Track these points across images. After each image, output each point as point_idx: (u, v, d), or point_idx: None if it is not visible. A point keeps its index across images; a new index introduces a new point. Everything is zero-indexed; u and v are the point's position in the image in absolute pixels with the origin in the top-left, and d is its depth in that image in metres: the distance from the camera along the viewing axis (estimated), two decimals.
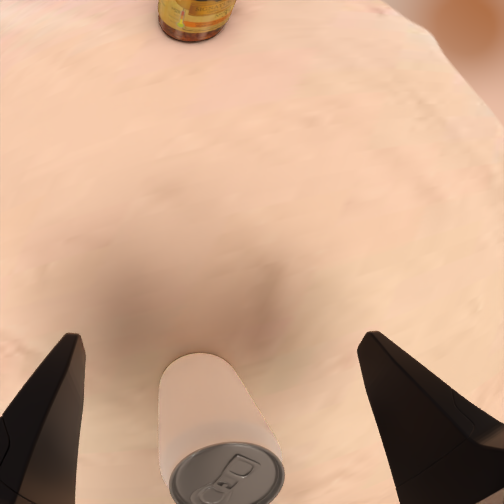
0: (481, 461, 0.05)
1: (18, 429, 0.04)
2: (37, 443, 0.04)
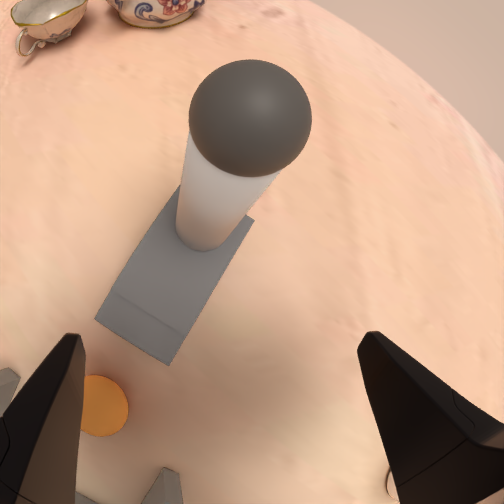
0: (481, 461, 0.05)
1: (18, 429, 0.04)
2: (37, 443, 0.04)
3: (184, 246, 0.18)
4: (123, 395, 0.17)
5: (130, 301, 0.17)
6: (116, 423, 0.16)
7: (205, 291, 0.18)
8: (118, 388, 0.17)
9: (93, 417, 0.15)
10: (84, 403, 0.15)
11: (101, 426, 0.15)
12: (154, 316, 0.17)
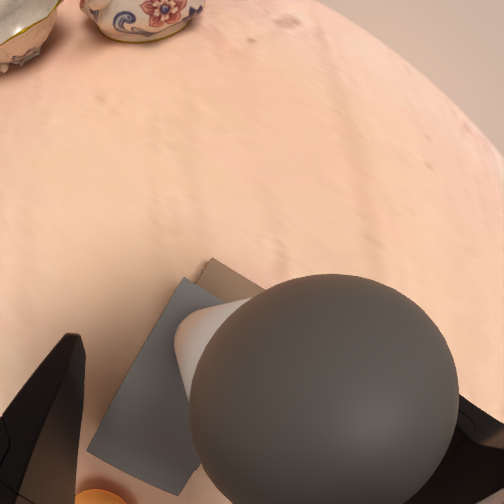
0: (481, 461, 0.05)
1: (18, 429, 0.04)
2: (37, 443, 0.04)
3: None
4: None
5: (126, 435, 0.12)
6: None
7: None
8: None
9: None
10: None
11: None
12: (156, 451, 0.12)
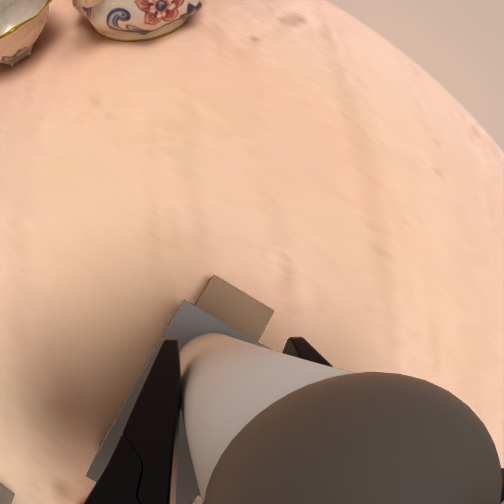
0: None
1: (148, 445, 0.05)
2: (171, 456, 0.05)
3: None
4: None
5: None
6: None
7: None
8: None
9: None
10: None
11: None
12: None
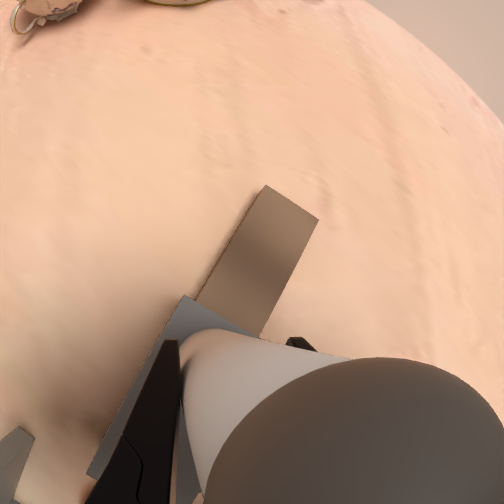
0: None
1: (148, 446, 0.05)
2: (171, 456, 0.05)
3: None
4: None
5: None
6: None
7: None
8: None
9: None
10: None
11: None
12: None
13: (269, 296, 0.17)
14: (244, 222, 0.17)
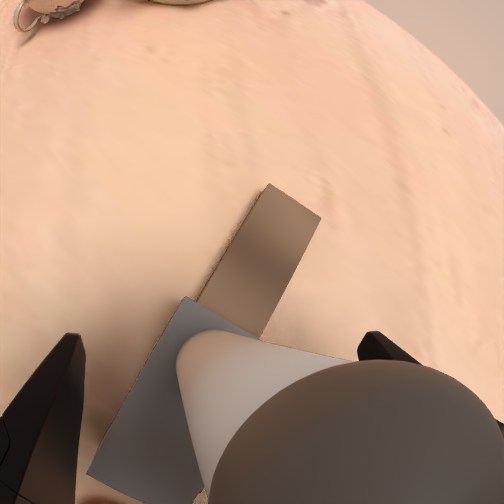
0: None
1: (18, 429, 0.04)
2: (37, 443, 0.04)
3: None
4: None
5: (127, 459, 0.11)
6: None
7: None
8: None
9: None
10: None
11: None
12: (159, 474, 0.11)
13: (272, 293, 0.17)
14: (248, 220, 0.17)
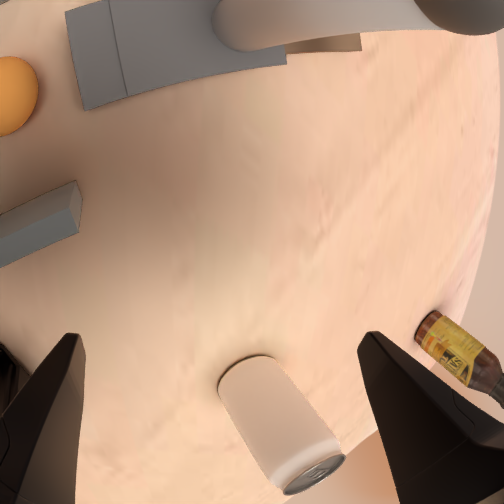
0: (481, 461, 0.05)
1: (18, 429, 0.04)
2: (37, 443, 0.04)
3: (210, 21, 0.12)
4: None
5: (113, 22, 0.10)
6: None
7: (186, 73, 0.13)
8: None
9: None
10: None
11: None
12: (119, 53, 0.11)
13: (300, 44, 0.16)
14: None
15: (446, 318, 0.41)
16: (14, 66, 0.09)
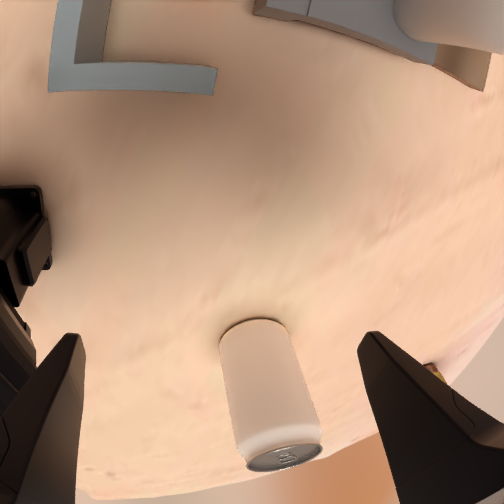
0: (481, 461, 0.05)
1: (18, 429, 0.04)
2: (37, 443, 0.04)
3: None
4: None
5: None
6: None
7: (359, 26, 0.12)
8: None
9: None
10: None
11: None
12: None
13: (441, 59, 0.16)
14: None
15: (440, 375, 0.40)
16: None
